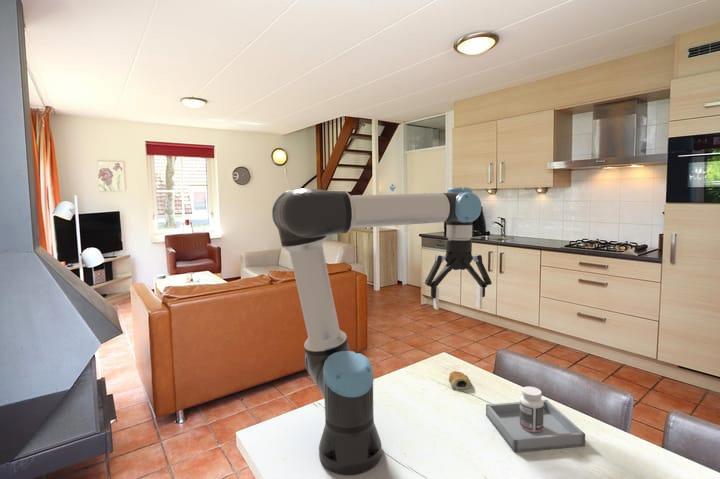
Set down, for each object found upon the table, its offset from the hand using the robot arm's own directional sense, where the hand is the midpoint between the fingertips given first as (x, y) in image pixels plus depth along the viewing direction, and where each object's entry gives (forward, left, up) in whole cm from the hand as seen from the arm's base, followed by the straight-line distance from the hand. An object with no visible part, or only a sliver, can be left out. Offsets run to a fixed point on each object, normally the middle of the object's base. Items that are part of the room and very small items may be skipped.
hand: (457, 308), depth 117 cm
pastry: (+2, +6, -28) cm, 29 cm away
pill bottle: (+12, -21, -27) cm, 36 cm away
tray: (+13, -21, -27) cm, 37 cm away
